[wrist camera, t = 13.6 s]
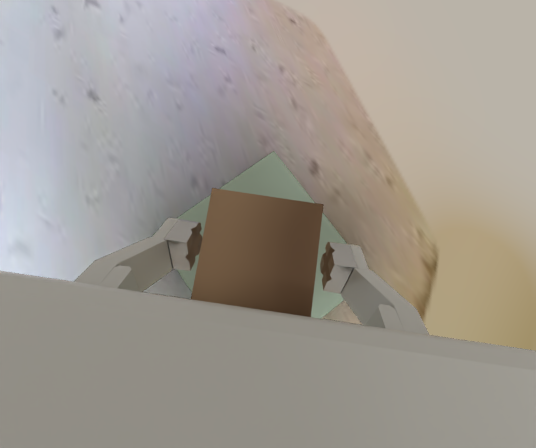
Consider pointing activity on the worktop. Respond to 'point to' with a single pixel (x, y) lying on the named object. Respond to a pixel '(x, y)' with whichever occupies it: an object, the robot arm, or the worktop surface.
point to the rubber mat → (280, 186)
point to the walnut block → (259, 252)
